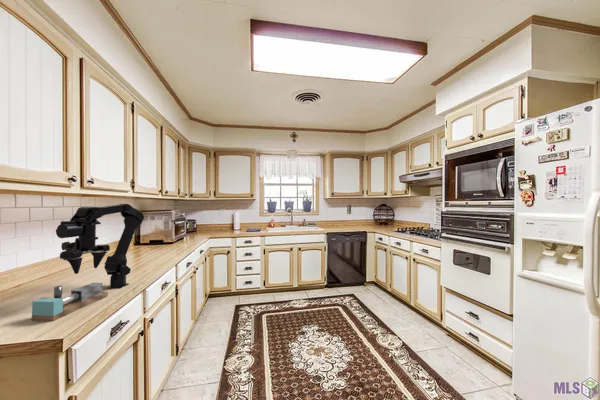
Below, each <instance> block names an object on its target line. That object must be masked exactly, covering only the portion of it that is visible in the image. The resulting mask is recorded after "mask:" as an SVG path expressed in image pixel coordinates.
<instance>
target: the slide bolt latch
mask: <svg viewBox="0 0 600 400" xmlns="http://www.w3.org/2000/svg"><path fill="white" fill-rule="evenodd" d="M70 291H71V294H73V293H76V292H81V298H80V299H77V300H75V301H72V302H70V303H67V304H65V305H63V312H61V313H59V314H57V315H54V316H42V315H32V314H31V321H38V322H39V321H43V322H53V321H56V320H58V319H61V318H63V317H66V316H67V315H70V314H72V313H74V312H76V311H78V310H80V309H83V308H85V307H87V306H89V305H91V304H93V303H96V302H98V301H100V300H102V299H104V298H107V297H108V296H109V292H108V291H103V282H91V283H89V284H86V285H83V286H80V287H77V288H75V289H71V290H70ZM71 294H70V295H71Z"/></svg>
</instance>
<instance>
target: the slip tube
mask: <svg viewBox="0 0 600 400" xmlns="http://www.w3.org/2000/svg"><path fill="white" fill-rule="evenodd" d="M53 298H63V305H65V304H67V303H70V302H72V301H75V300H77V299H80V298H81V292H76V293H73V294H69V295H66V296H63V285H57V286H54V287H53Z"/></svg>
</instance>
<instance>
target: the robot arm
mask: <svg viewBox="0 0 600 400" xmlns="http://www.w3.org/2000/svg"><path fill="white" fill-rule="evenodd" d="M119 213H120V215H121V217H122V218H124V219H123V223H124V228H123V230H122V231H123V232H121V235H120V238H119V241H118V243H117V246H116V247H115V248H116V249H115V250H114V253H113V254H112V255H108V256H107V257H106V260H105V262H104V264H103V265H104V271H105V272H106V275H107V276H110V281H109V283H110V284H109V285H110V286H108V287H107V289H117V290H118V289H119V290H120V289H122V288H124V287H127V286H128V285H130V283H127V275H129V274H131V270H132V269H131V268H130V267H129V266H128V265H127V264H128V259H127V253H128V251H129V248H130V245H131V243H132V239H133V237H134V235H135V232H136V230H137V228H138V227H140V226H141V225H142V223H143V221H144V220H145V215H144V214H143V212H141V211H140V210H139V209H137V208H135V207H133V206H132V205H131V204H129V203H119V204H112V205H106V206H80V207H78V208H77V210H76V212H75V213H74V215H72V217H71V218H70V220H67V221H66V220H62V221H60V224H58V226H57V227H56V229H55V234H56V236H57V237H58V238H59V239H66V238H67V239H69V238H73V237H74V238H75V240H74V241H73V242H70V241H64V242H62V243H61V250H62V251H61V252H60V253H59V259H61V260H63V261H67V262H68V263H69V265H70V266H71V268H72V271H73V273H74V274H75V275H78V274H79V273H80V272H79V271H80V269H81V265H82V262H83V257H82V256H83V255H84V254H89V253H90V254H91V255H92V257H93V261H92V262H93V263H92V264H93V268H94V269H97V268H98V267H99V265H100V263H101V262H102V260H103V259H104V257H105V256H106V254H107V253H108V251H110V249H111V248H110V245H109V244H96V243H97V241H96V240H98V239H99V236H96V235H97V234H96V232H97V231H96V230H97V225H101V224H102V223H101V222H100V221H99V220H98V219H101V218H103V216H107V215H113V214H119Z"/></svg>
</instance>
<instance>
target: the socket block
mask: <svg viewBox="0 0 600 400" xmlns="http://www.w3.org/2000/svg"><path fill="white" fill-rule="evenodd" d="M31 306H32V307H31V316H32V315H42V316H54V315H57V314H59V313H61V312H63V297H62V298H54V297H53V298H52V297H41V298H38V299H35V300H32V303H31Z"/></svg>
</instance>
